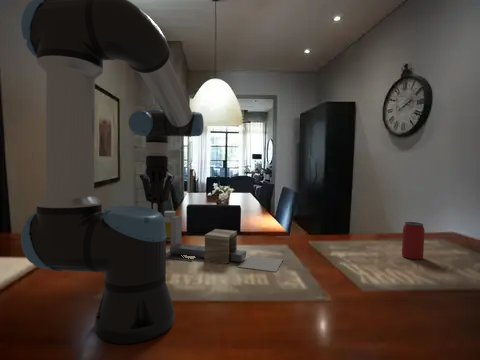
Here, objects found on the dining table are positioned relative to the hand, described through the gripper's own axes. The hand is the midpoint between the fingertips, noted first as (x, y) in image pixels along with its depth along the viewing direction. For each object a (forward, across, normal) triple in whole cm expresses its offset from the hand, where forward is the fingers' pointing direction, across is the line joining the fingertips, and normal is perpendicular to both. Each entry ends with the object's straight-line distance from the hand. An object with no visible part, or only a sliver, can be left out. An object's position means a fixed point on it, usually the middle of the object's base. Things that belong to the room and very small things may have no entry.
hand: (157, 221), depth 112 cm
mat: (+11, -39, 0) cm, 40 cm away
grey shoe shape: (+11, -11, 0) cm, 15 cm away
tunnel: (+11, -25, 0) cm, 27 cm away
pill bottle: (+11, +4, -16) cm, 20 cm away
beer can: (+11, -87, -25) cm, 91 cm away
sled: (+10, -20, 0) cm, 22 cm away
